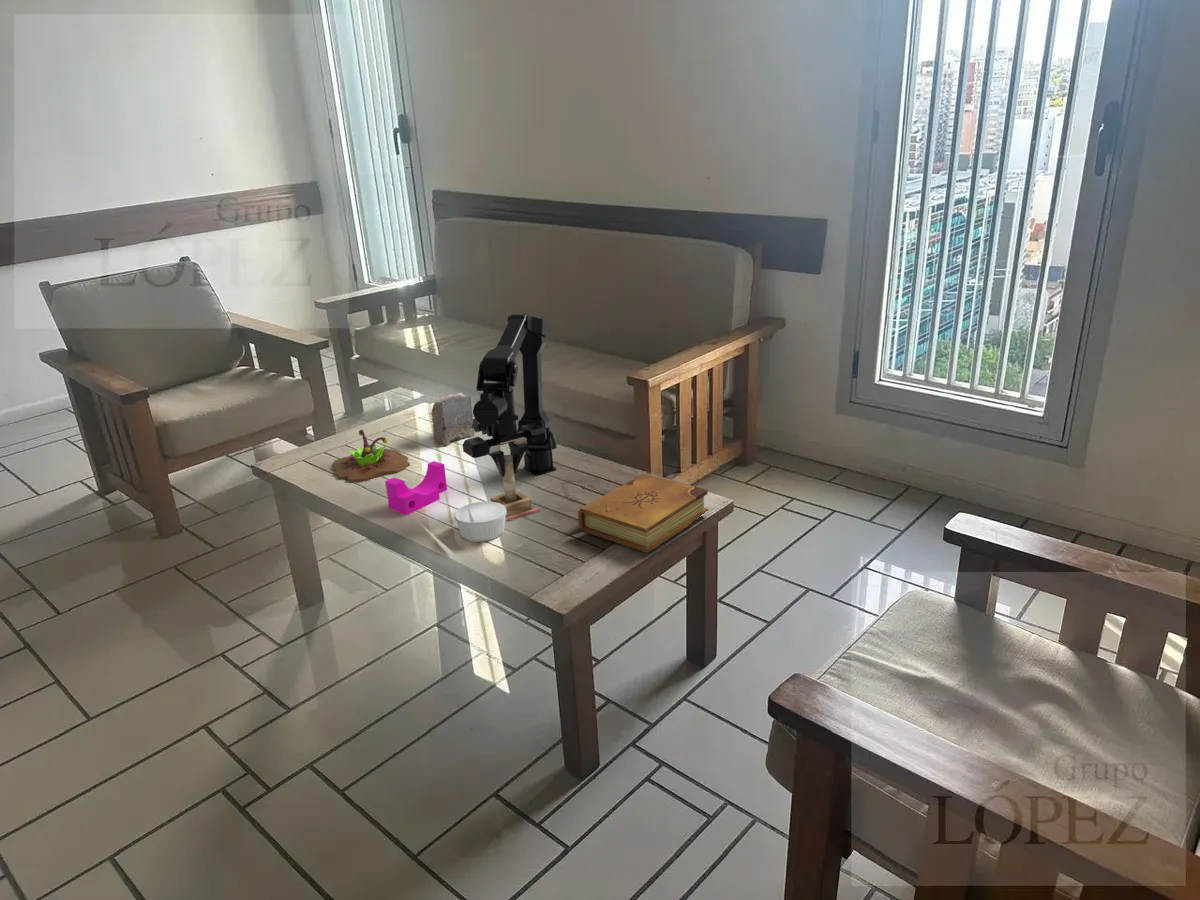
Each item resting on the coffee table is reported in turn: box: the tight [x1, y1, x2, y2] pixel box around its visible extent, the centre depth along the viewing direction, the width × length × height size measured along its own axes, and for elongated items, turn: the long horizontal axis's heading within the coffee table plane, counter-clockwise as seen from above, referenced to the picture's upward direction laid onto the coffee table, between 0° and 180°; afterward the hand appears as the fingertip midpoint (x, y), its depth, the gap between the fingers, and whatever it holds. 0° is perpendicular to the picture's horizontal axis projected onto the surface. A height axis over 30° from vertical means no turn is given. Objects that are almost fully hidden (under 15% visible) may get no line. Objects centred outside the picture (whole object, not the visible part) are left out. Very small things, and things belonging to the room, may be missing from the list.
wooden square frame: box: [489, 489, 541, 521], centre depth 197 cm, size 8×9×2 cm
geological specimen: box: [430, 392, 475, 447], centre depth 239 cm, size 11×6×15 cm, turn 138°
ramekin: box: [454, 501, 506, 543], centre depth 186 cm, size 11×11×5 cm
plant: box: [332, 429, 411, 483], centre depth 224 cm, size 20×20×11 cm
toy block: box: [384, 460, 448, 516], centre depth 203 cm, size 15×6×8 cm, turn 141°
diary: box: [577, 473, 709, 553], centre depth 188 cm, size 23×19×6 cm
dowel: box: [502, 454, 517, 504], centre depth 196 cm, size 3×3×12 cm
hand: (508, 474), depth 195 cm, fingers closed on dowel, 2 cm apart
